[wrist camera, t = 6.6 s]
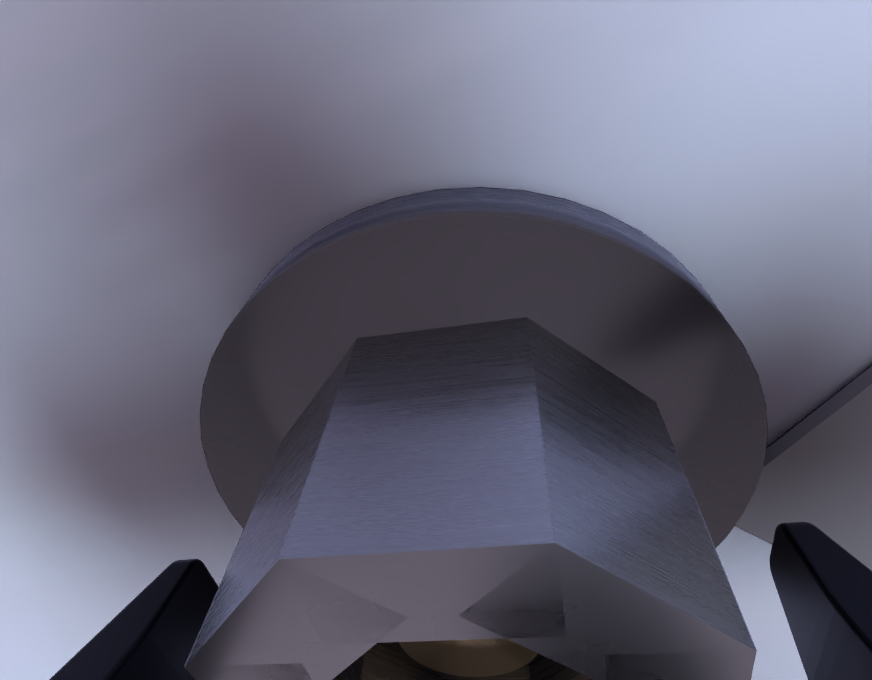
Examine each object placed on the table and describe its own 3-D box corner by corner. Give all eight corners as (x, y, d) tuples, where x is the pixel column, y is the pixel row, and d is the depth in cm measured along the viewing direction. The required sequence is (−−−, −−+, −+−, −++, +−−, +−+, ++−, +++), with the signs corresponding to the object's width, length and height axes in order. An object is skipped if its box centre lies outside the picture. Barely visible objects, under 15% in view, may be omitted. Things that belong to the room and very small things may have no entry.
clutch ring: (652, 574, 11) (721, 823, 8) (351, 589, 12) (301, 814, 9) (658, 300, 8) (781, 528, 5) (246, 351, 9) (107, 570, 6)
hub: (536, 629, 15) (553, 832, 11) (170, 481, 13) (49, 674, 9) (866, 369, 10) (1079, 587, 6) (351, 55, 8) (239, 119, 4)
